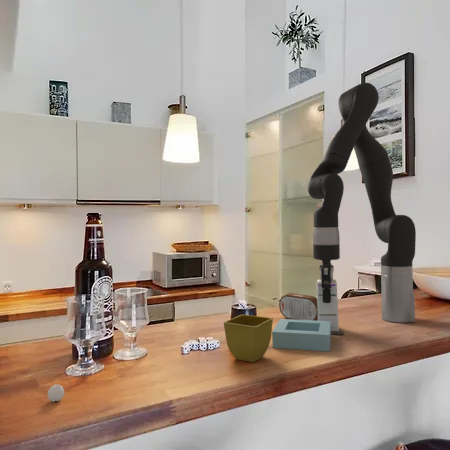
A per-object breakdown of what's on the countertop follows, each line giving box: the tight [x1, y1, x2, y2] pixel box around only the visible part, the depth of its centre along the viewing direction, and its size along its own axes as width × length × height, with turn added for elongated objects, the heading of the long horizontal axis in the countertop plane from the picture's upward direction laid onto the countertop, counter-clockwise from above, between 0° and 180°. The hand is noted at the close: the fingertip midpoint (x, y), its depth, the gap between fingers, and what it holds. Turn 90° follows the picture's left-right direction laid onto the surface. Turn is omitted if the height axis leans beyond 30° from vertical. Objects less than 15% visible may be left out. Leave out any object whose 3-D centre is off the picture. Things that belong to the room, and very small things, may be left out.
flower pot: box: [223, 314, 274, 363], centre depth 93 cm, size 9×9×9 cm
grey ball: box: [47, 384, 65, 403], centre depth 72 cm, size 3×3×3 cm
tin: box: [278, 292, 318, 321], centre depth 128 cm, size 15×3×8 cm, turn 47°
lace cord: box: [331, 330, 345, 336], centre depth 113 cm, size 19×1×1 cm, turn 74°
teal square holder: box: [271, 318, 332, 352], centre depth 106 cm, size 14×14×4 cm
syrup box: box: [316, 278, 340, 331], centre depth 116 cm, size 6×6×14 cm
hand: (327, 300), depth 116 cm, fingers closed on syrup box, 6 cm apart
